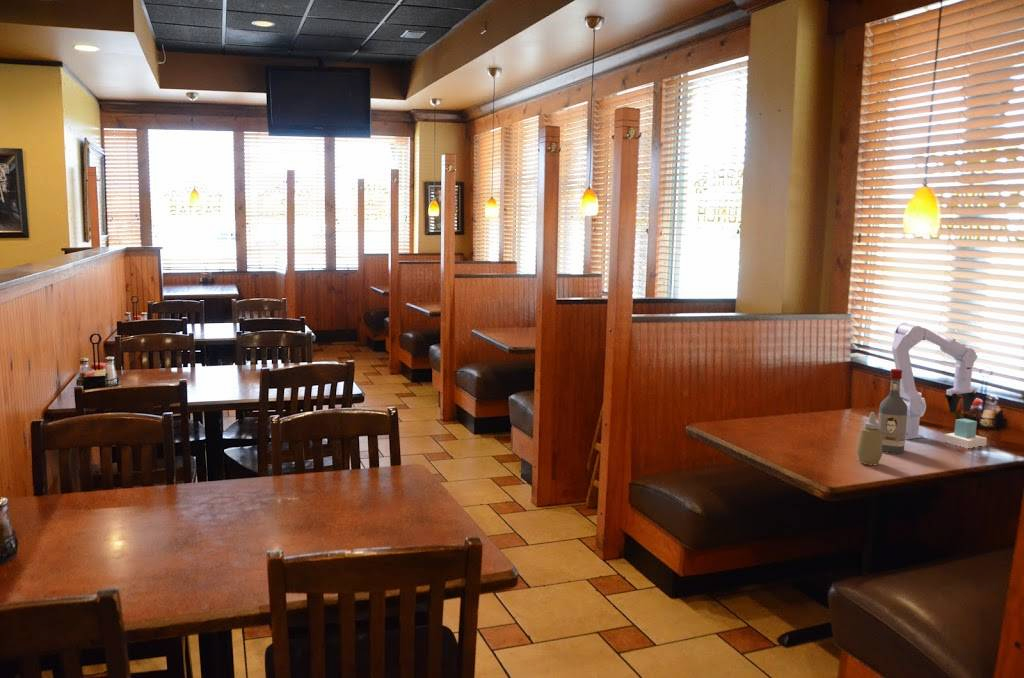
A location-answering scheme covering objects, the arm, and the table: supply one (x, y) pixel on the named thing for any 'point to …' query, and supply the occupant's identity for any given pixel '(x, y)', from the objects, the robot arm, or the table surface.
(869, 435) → the squeeze bottle
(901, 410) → the liquor
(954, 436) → the base board
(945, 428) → the table surface
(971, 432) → the teal block
